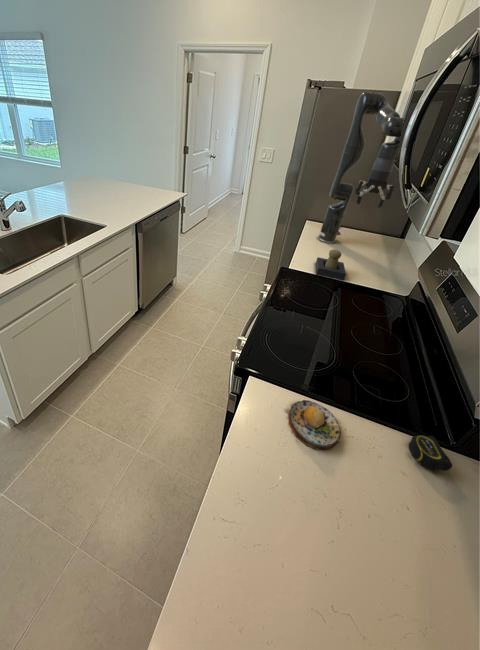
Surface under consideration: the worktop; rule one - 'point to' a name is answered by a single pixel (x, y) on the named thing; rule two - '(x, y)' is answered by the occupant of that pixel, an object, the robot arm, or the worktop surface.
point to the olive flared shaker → (333, 259)
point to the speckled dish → (314, 425)
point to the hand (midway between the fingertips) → (368, 205)
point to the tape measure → (429, 453)
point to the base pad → (330, 269)
